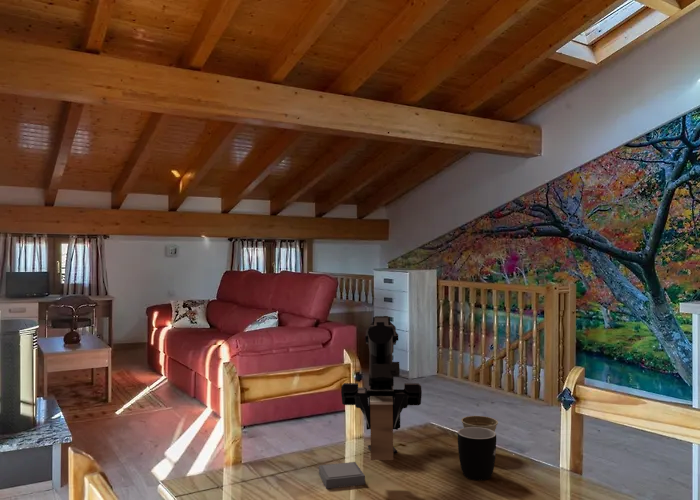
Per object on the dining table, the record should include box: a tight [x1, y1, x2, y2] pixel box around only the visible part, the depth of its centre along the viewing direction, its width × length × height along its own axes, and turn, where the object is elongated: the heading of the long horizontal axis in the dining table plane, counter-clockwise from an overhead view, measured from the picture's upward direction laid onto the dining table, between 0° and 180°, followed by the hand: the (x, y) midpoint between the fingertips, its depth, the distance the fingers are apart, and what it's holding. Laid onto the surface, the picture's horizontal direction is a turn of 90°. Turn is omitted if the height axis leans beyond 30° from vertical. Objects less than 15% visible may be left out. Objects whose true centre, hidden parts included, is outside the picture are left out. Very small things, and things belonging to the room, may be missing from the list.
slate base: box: [318, 461, 366, 489], centre depth 134 cm, size 9×9×2 cm
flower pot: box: [461, 415, 499, 433], centre depth 150 cm, size 9×9×9 cm
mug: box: [457, 427, 497, 481], centre depth 137 cm, size 12×9×10 cm
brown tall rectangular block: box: [370, 396, 394, 461], centre depth 130 cm, size 5×5×13 cm
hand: (381, 427), depth 129 cm, fingers closed on brown tall rectangular block, 5 cm apart
